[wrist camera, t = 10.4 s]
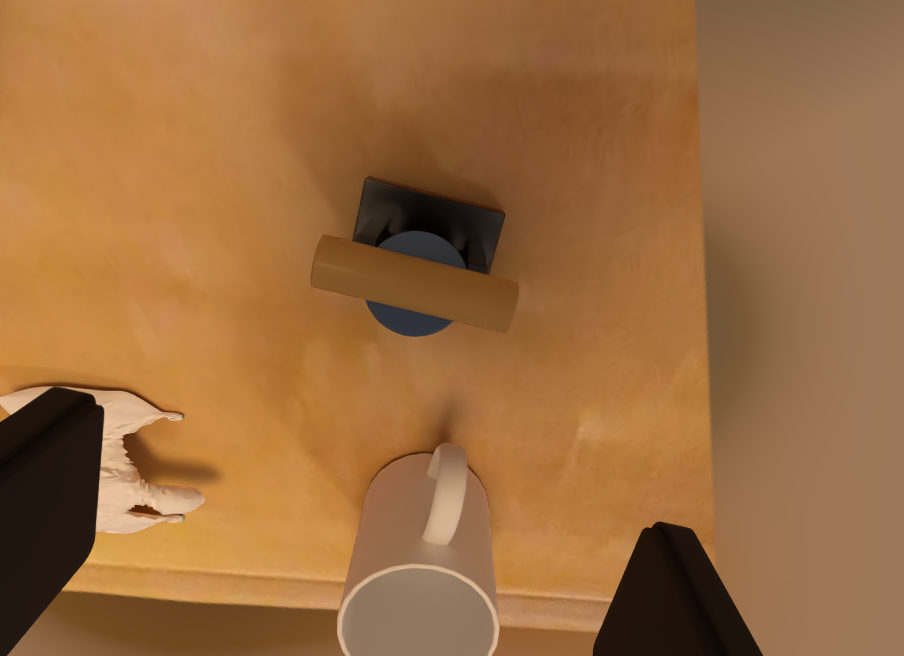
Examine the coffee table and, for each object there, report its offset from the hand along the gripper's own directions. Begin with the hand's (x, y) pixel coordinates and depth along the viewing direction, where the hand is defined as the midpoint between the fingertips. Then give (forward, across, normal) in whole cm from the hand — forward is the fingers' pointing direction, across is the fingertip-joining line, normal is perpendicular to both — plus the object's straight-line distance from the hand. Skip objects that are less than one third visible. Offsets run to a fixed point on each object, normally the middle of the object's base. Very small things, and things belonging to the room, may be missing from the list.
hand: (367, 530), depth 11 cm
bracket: (+26, 0, +1) cm, 26 cm away
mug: (+26, -4, +15) cm, 30 cm away
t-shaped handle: (+15, 0, -2) cm, 15 cm away
